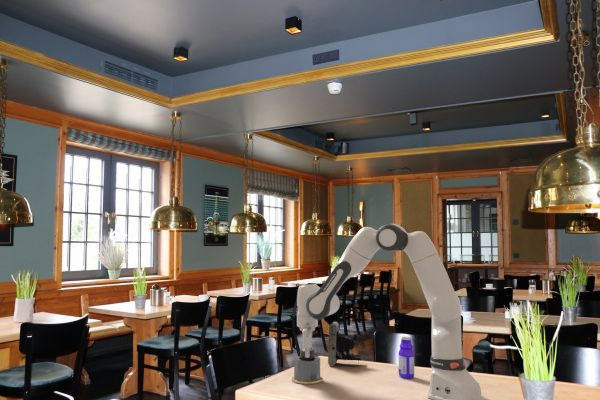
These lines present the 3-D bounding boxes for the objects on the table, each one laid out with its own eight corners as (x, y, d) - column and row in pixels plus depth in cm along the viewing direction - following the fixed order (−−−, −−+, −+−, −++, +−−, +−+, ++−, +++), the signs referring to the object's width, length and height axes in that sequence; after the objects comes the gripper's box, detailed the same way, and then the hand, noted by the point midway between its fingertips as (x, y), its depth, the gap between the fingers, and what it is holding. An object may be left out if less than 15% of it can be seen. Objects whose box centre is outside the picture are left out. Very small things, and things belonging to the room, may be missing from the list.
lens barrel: (328, 382, 215) (328, 359, 216) (301, 386, 209) (301, 363, 210) (312, 375, 226) (312, 354, 227) (286, 378, 220) (286, 357, 221)
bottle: (417, 378, 221) (416, 337, 222) (405, 380, 219) (405, 337, 220) (407, 374, 227) (406, 334, 229) (396, 376, 225) (395, 335, 227)
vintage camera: (360, 369, 240) (361, 325, 241) (327, 366, 243) (328, 323, 245) (362, 364, 249) (363, 322, 251) (330, 362, 252) (331, 320, 254)
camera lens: (317, 360, 217) (317, 350, 218) (304, 361, 214) (304, 351, 215) (309, 357, 222) (309, 347, 223) (297, 358, 220) (297, 349, 220)
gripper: (315, 325, 209) (315, 361, 208) (314, 318, 230) (314, 350, 229) (299, 325, 209) (299, 360, 208) (300, 318, 230) (300, 350, 229)
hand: (307, 355), depth 219 cm, fingers closed on camera lens, 6 cm apart
